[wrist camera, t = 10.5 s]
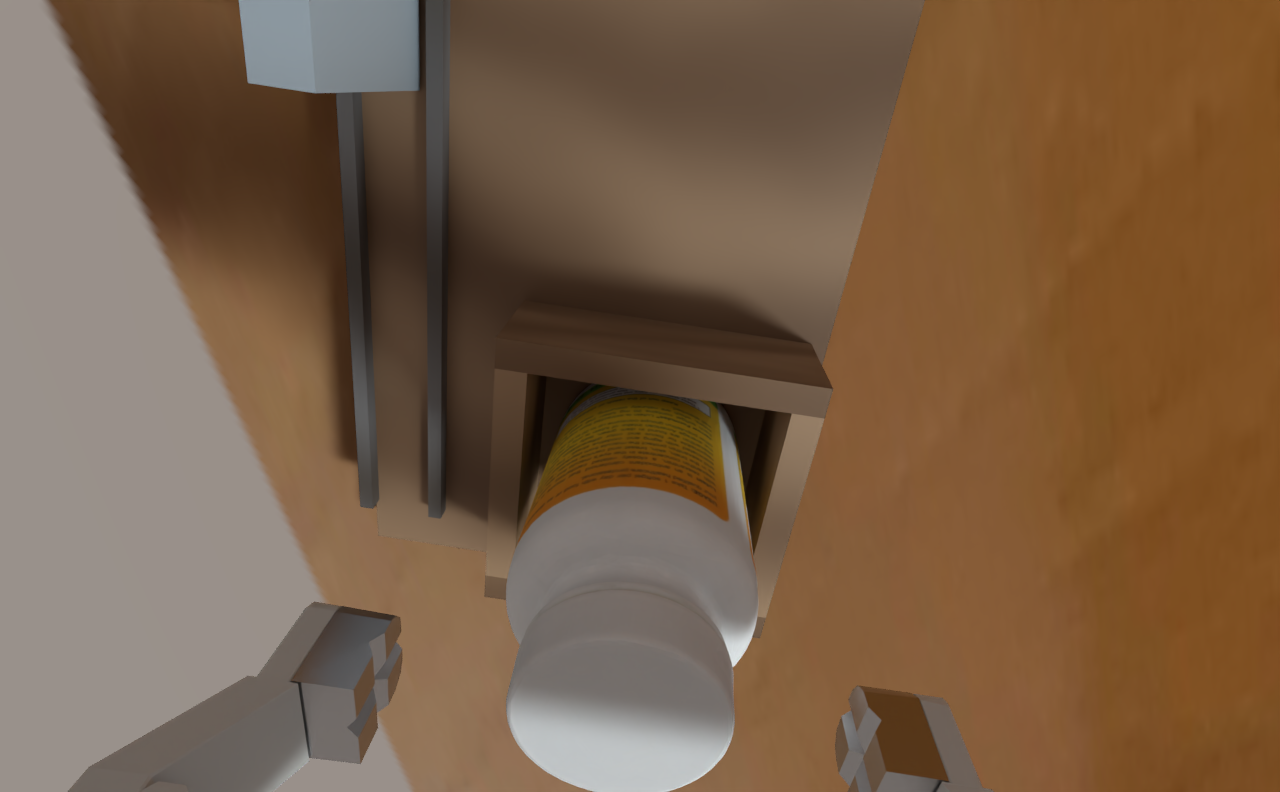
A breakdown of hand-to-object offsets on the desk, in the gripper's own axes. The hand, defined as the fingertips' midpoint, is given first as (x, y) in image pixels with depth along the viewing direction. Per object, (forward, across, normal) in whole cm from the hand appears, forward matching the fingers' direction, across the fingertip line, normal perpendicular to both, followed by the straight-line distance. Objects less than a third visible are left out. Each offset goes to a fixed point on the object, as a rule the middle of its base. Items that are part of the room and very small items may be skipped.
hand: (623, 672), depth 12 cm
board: (+10, +2, -4) cm, 11 cm away
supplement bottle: (+9, 0, +1) cm, 9 cm away
